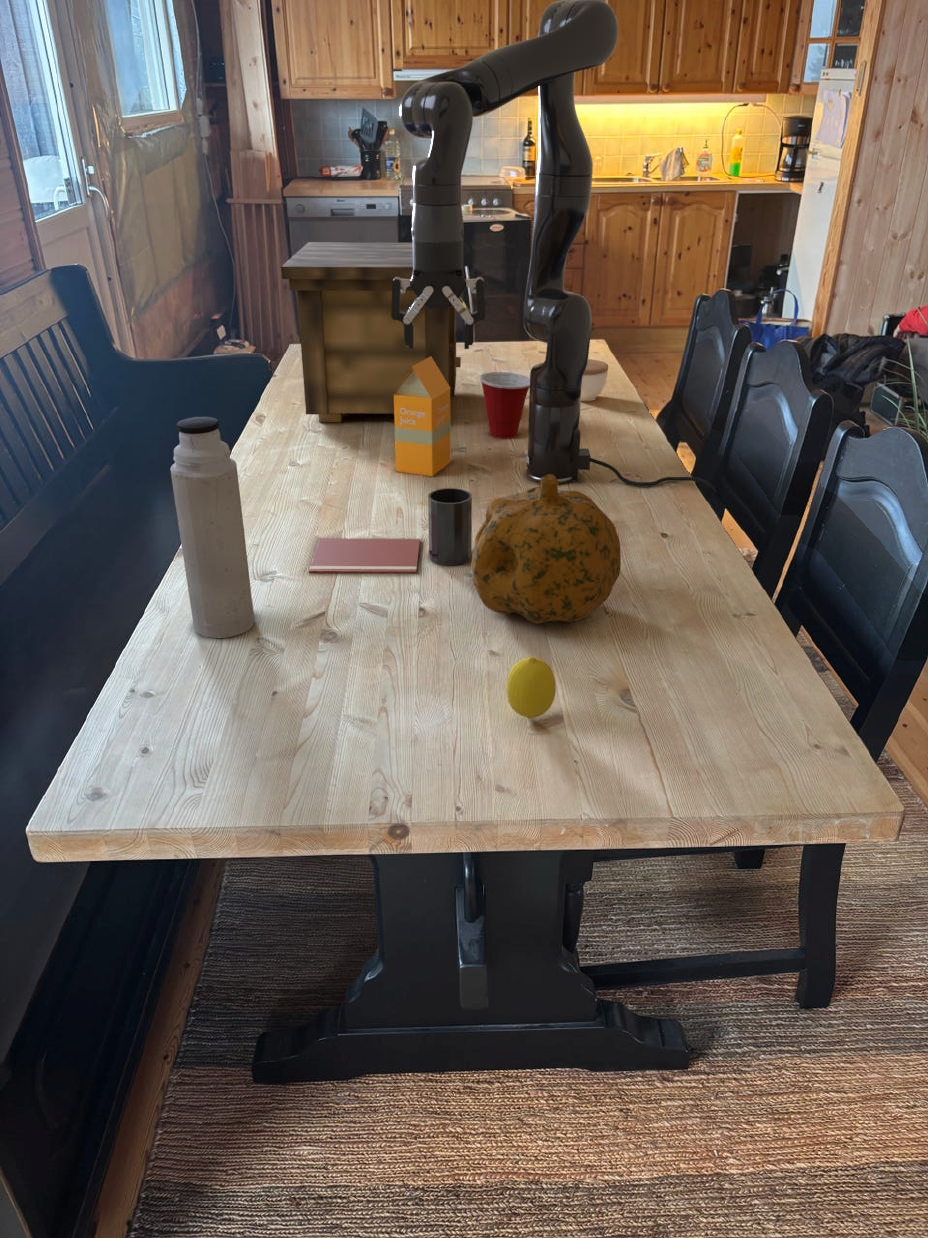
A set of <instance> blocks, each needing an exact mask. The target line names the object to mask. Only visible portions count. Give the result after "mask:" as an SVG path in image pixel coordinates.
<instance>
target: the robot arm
mask: <svg viewBox="0 0 928 1238" xmlns="http://www.w3.org/2000/svg"><path fill="white" fill-rule="evenodd" d="M538 27H539V28H538V33H537V36H536V37H535V36H534V37H532V38H528V39H525V40H521V41H518V42H515V43H511V44H508V45H504V46H501V47H499V48H495V49H493V50H490V51H489V52H487V53H484V54H482V55H481V56H479V57H477V58H475V59H473V60H471V61H469V62H467V63H465V64H464V65H462V66H460V67H458V68H454V69H451V70H447V71H444V72H440V73H438V74H435V75H431V76H429V77H425V78H424V79H421V80H419V81H417V82H415V83H414V84H412V85H411V86H410V87H409V88H408V89H407V90H406V91H405V93H404V95H403V96H402V99H401V101H400V106H399V117H400V121H401V124H402V125H403V127H404V128H405V130H406V131H407V132H408V133H410V134H411V135H412V136H415V137H417V138H421V139H431V144H430V149H429V153H428V156H427V157H423V158H420V159H418V160H417V161H415V163H414V164H413V168H412V214H411V215H412V216H411V231H410V232H411V240H412V241H411V243H412V248H413V276H412V278H411V279H401V278H400V277H395V278H394V279H393V282H392V310H391V317H392V319H393V320H398V321H400V322H402V323H403V324H404V342H405V345H409V349H414V322H412V320H413V319H414V317H415V316H416V314H417V313H418V312H419V311H420V309H421V308H422V307H423V305H424V306H425V307H427V308H428V309H434V308H438V307H439V308H443V309H449V308H450V307H452V306H454V308H455V309H456V310H457V312H458V313H457V314H459V315H460V316H461V318H462V319H463V320H464V327H463V329H464V336H463V337H464V339H463V340H464V345H463V346H464V348H463V349H464V350H470V346H473V344H474V330H475V329H474V328H475V327H474V325H475V324H476V323H477V322H480V321H484V320H485V319H486V301H485V300H486V299H485V280H484V277H482V276H477V277H476V278H466V277H465V275H464V235H465V230H464V215H463V207H462V206H463V204H462V172H463V168H464V165H465V160H466V156H467V152H468V147H469V143H470V139H471V134H472V130H473V124H474V123H473V122H474V118H479V117H483V116H485V115H488V114H490V113H492V112H494V111H496V110H498V109H499V108H501V107H503V106H504V105H506V104H509V103H510V102H511V101H514V100H515V99H517V98H519V97H521V96H522V95H524V94H526V93H528V92H531V91H533V90H535V89H537V88H538V129H537V130H538V131H537V132H538V133H537V134H538V135H537V156H536V164H535V165H536V167H535V177H534V179H535V180H534V201H533V202H534V203H533V204H534V210H533V224H532V237H531V250H530V251H531V252H530V260H529V266H528V267H529V268H528V273H527V279H526V280H527V281H526V287H525V288H526V289H525V293H524V294H525V295H524V299H523V300H524V301H523V308H522V311H523V312H522V320H523V321H522V322H523V326H524V330H525V331H526V333H527V334H528V336H529V337H530V338H531V339H533V340H535V341H537V342H540V343H543V344H546V352H545V359H544V361H543V362H540V363H537V364H535V365H533V366H532V367H531V368H530V372H529V378H530V387H529V391H528V392H529V397H528V399H529V400H528V422H527V423H528V424H527V425H528V426H527V429H528V430H527V452H526V454H525V461H526V470H525V475H526V477H527V478H528V479H529V480H531V481H532V482H536V483H539V484H541V478H542V477H544V476H545V475H548V474H553V475H554V476H555V477H556V479H558V482H559V483H558V485H559V484H566V483H570V482H578V480H579V471H590V470H591V463H592V464H595V465H598V466H601V467H604V468H607V469H608V470H610V471H612V472H613V473H614V475H615V476H616V477H617V478H618V479H619V480H620V481H622V482H624V483H625V484H628V485H631V486H637V487H653V486H656V485H659V484H661V483H664V482H678V481H679V482H682V481H689V482H696V483H700V484H702V485H703V486H705V487H707V488H708V490H710V491H711V492H713V493H717V492H718V491H717V489H716V488H715V486H713V485H712V484H711V483H710V482H708V481H707V480H705V479H704V478H701V477H697V476H666V477H665V476H664V477H662V478H659V479H656V480H653V481H634V480H631V479H628V478H626V477H625V476H623V474H621V472H620V471H619V470H618V469H617V468H616V467H615V466H613V465H611V464H610V463H607V462H606V461H605V462H604V461H601V460H599V459H596V458H593V457H592V456H591V452H590V449H589V448H581V429H580V422H581V421H580V420H581V404H582V403H581V402H582V401H581V387H582V377H583V374H584V372H585V370H586V367H587V362H588V359H589V353H590V346H591V345H590V343H591V337H592V336H591V335H592V325H593V320H592V319H593V318H592V316H593V315H592V310H591V306H590V304H589V301H588V300H587V299H586V298H585V296H583V295H581V294H579V293H577V292H572V291H569V290H565V276H566V265H567V259H568V255H569V253H570V249H571V247H572V245H573V243H574V242H575V240H576V237H577V235H578V234H579V232H580V231H581V228H582V226H583V224H584V222H585V220H586V218H587V215H588V212H589V209H590V205H591V199H592V198H591V197H592V185H593V173H594V168H593V167H594V164H593V157H592V154H591V150H590V147H589V144H588V141H587V138H586V135H585V133H584V131H583V129H582V125H581V122H580V121H579V118H578V113H577V110H576V105H575V73H577V72H581V71H584V70H591V69H594V68H597V67H600V66H602V65H603V64H604V63H607V61H608V60H610V58H611V56H612V55H613V53H614V51H615V49H616V46H617V43H618V38H619V22H618V18H617V15H616V13H615V10H614V8H613V7H612V6H611V5H610V4H609V3H608V2H606V1H604V0H556V1H554V2H551V3H550V4H548V5H547V7H546V8H545V9H544V11H543V13H542V15H541V17H540V22H539V25H538ZM409 286H410V287H411V289H412V290H413V292H414V293H415V295H416V296H417V298H416V300H415V301H414V302H413V304H412V306H411V307H410V308H409V310H408V311H407V313H405V312H402V311H400V307H401V294H403V293H405V291H406V288H407V287H409ZM466 288H469V289H470V292H471V294H473V295H476V311H473V312H471V310H470V308H468V306H467V305H466V303H465V301H463V299H462V297H461V295H462V294H463V293H464V291H465V290H466Z"/></svg>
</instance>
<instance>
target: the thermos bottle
mask: <svg viewBox="0 0 928 1238" xmlns="http://www.w3.org/2000/svg"><path fill="white" fill-rule="evenodd" d="M176 427H177V430H178V432H179V433H178V439H179V444H178V445H177V446H175V447H174V448H173V457H172V458H173V461H174V463H173V464H172V465H171V467H170V476H171V484H172V489H173V498H174V504H175V509H176V510H175V511H176V515H177V516H176V517H177V524H178V531H179V538H180V543H181V551H182V557H183V563H184V570H185V571H184V572H185V578H186V583H187V592H188V598H189V605H190V612H191V617H192V618H191V619H192V623H193V624H192V626H193V629H194V631H195V632H196V633H197V634H198V635H199V636H202V637H206V638H213V639H226V638H231V637H236V636H238V635H241V634H244V633H246V632H247V631H249V630H250V629H251V628H252V627H253V626H254V624H255V614H254V604H253V598H252V597H253V596H252V590H251V589H252V588H251V579H250V571H249V562H248V554H247V553H248V552H247V544H246V535H245V527H244V525H245V524H244V518H243V510H242V509H243V507H242V501H241V493H240V492H241V491H240V482H239V475H238V465H237V461H236V460H234V459H233V458H231V457H230V456H231V449H230V446H229V444H228V443H226V442H225V441H222V439H221V433H220V431H219V428H220V423H219V420H218V419H217V418H216V417H210V416H194V417H193V416H192V417H188V418H183V419H181V420H179V421H178V422H177V423H176Z"/></svg>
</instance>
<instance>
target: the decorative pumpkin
mask: <svg viewBox="0 0 928 1238" xmlns="http://www.w3.org/2000/svg"><path fill="white" fill-rule="evenodd" d="M558 483H559V482H558V479H556V477H555V476H554V475H553V474H548V475H545V476H544V477H542V478H541V483H540V485H536V486H533V487H529V488H527V489H526V490H524V491H521V492H517V493H516V494H510V495H505V496H500V497H494V498H492V499H491V500H490V501H489V503H488V505H487V508H486V513H485V520H484V522H483V523H482V525H481V526H480V528H479V529H478V531H477V532H476V535H475V536H474V547H473V550H472V557H471V564H470V566H471V573H472V575H473V576H472V583H473V586H474V587H475V589H476V591H477V595H478V597H479V599H480V600H481V602H482V603H483V605H484V606H485V607H487V608H488V609H490V610H491V611H493V612H495V613H499V614H505V615H507V614H512V613H516V614H518V615H521V616H522V617H523V618H525V619H526V620H527V621H529V622H531V623H533V624H535V625H539V624H542V623H546V622H553V621H561V622H562V621H563V622H566V623H570V622H575V621H578V620H583V619H585V618H586V617H587V616H589V614H591V613H592V612H594V611H596V610H597V609H598V608H599V607H600V606H602V604H604V603H605V602H606V601H607V600H608V598H609V596H610V595H611V593H612V590H613V587H614V586H615V584H616V582H617V581H618V579H619V577H620V575H621V567H622V566H621V565H622V561H621V560H622V556H621V542H620V537H619V535H618V532H617V527H616V526H615V524H614V522H613V521H612V520H611V519H610V518H609V516H608V514H607V515H606V513H605V512H604V511H603V510H602V509H601V508H600V507H599V506H598V505H597V503H596V502H595V501H593V499H592V498H591V497H589V496H588V495H586V494H585V493H582V492H581V491H578V490H570V489H569V490H568V489H567V490H566V489H564V490H563V489H559V484H558Z"/></svg>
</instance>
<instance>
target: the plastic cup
mask: <svg viewBox="0 0 928 1238" xmlns="http://www.w3.org/2000/svg"><path fill="white" fill-rule="evenodd" d="M479 381H480V382H481V383H480V384H481V385H482V393H483V396H484V397H483V399H484V405H485V412H486V419H487V423H488V432H489V434H490V436H491V437H494V438H497V439H511V438H515V437H517V436H518V434H519V431H520V424H521V420H522V416H523V412H524V408H525V403H526V397H527V396H528V392H529V391H530V377H528V376H526V375H523V374H519V373H515V372H507V371H490V372H484V373H482V374H481V375H479Z"/></svg>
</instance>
